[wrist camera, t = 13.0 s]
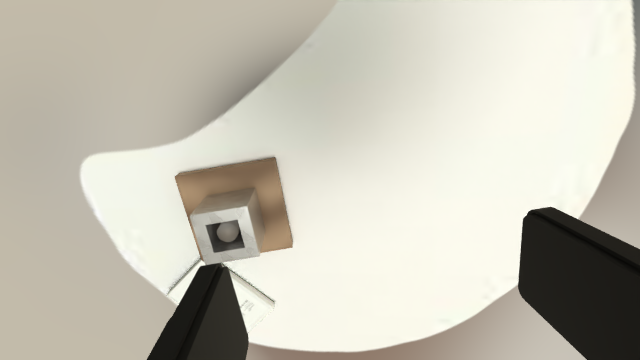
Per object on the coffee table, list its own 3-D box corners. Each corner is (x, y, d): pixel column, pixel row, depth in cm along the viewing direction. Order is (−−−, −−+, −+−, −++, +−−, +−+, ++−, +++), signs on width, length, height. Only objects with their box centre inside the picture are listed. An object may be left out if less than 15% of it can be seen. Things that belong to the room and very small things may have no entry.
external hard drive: (206, 251, 40) (275, 301, 43) (170, 289, 42) (238, 335, 45) (203, 258, 39) (274, 309, 42) (165, 297, 40) (236, 344, 43)
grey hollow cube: (206, 195, 36) (189, 215, 30) (255, 187, 36) (247, 206, 30) (219, 238, 38) (205, 265, 32) (265, 230, 38) (259, 256, 32)
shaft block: (179, 173, 36) (154, 191, 30) (275, 157, 37) (270, 172, 30) (205, 256, 40) (188, 287, 34) (292, 241, 40) (291, 270, 34)
